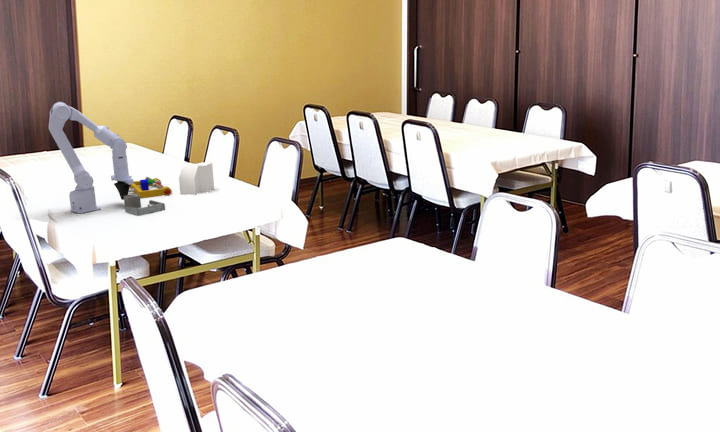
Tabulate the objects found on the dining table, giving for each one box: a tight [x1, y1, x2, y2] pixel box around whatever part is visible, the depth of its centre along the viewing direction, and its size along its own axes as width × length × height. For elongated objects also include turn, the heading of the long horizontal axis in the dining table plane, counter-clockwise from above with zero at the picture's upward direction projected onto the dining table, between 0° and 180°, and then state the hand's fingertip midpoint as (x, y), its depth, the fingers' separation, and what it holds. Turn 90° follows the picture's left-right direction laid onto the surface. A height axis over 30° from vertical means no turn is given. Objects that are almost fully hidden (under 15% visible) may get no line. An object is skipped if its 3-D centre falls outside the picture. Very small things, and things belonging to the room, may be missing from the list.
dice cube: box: [123, 193, 142, 209], centre depth 317 cm, size 5×5×5 cm
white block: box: [178, 162, 215, 195], centre depth 341 cm, size 11×11×12 cm
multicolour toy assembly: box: [128, 176, 173, 200], centre depth 347 cm, size 18×6×30 cm
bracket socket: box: [124, 199, 166, 216], centre depth 311 cm, size 12×11×3 cm
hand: (124, 199), depth 322 cm, fingers closed
